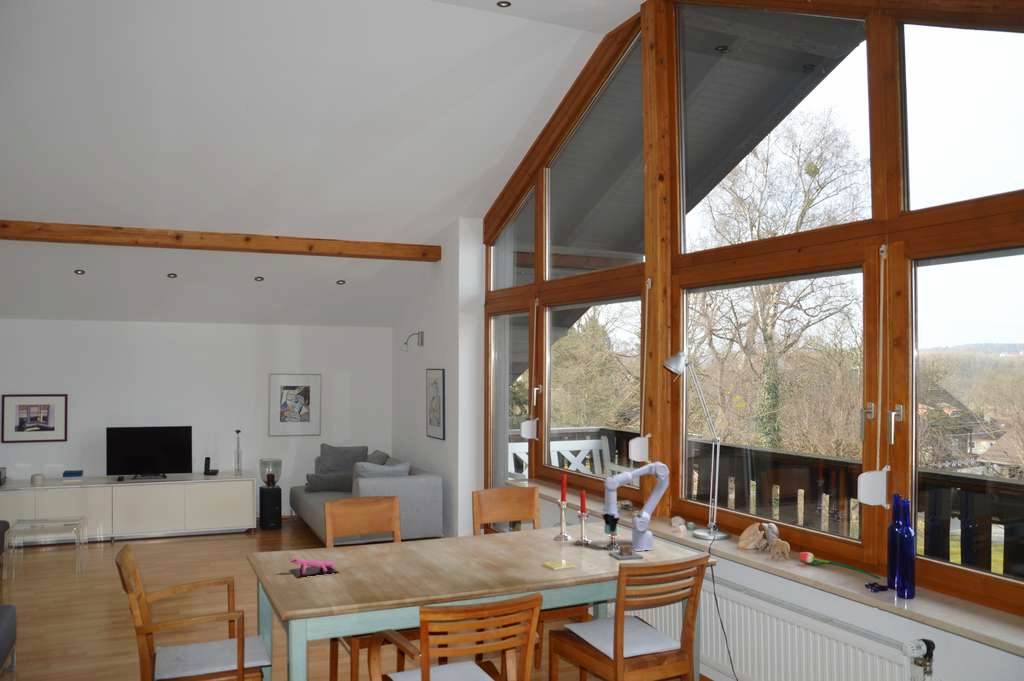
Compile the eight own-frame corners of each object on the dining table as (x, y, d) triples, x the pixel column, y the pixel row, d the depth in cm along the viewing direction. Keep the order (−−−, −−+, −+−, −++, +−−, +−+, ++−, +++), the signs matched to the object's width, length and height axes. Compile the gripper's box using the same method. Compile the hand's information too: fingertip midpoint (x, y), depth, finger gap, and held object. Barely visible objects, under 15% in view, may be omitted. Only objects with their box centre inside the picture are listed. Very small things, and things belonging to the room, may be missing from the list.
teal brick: (613, 532, 407) (613, 524, 407) (616, 534, 403) (616, 525, 403) (604, 532, 406) (604, 524, 406) (608, 534, 401) (608, 526, 401)
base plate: (632, 553, 397) (632, 550, 397) (643, 558, 385) (643, 556, 385) (609, 554, 393) (609, 552, 393) (619, 560, 382) (619, 558, 382)
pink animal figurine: (285, 572, 359) (286, 555, 359) (331, 567, 368) (331, 550, 368) (293, 580, 346) (294, 562, 346) (340, 575, 355) (340, 557, 355)
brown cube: (628, 553, 392) (628, 544, 392) (632, 555, 388) (632, 546, 388) (619, 553, 391) (619, 545, 391) (623, 555, 386) (623, 547, 386)
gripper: (597, 500, 410) (597, 527, 410) (609, 505, 396) (609, 533, 396) (610, 499, 412) (610, 527, 412) (622, 504, 398) (622, 532, 398)
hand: (610, 530), depth 404 cm, fingers closed on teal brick, 4 cm apart
